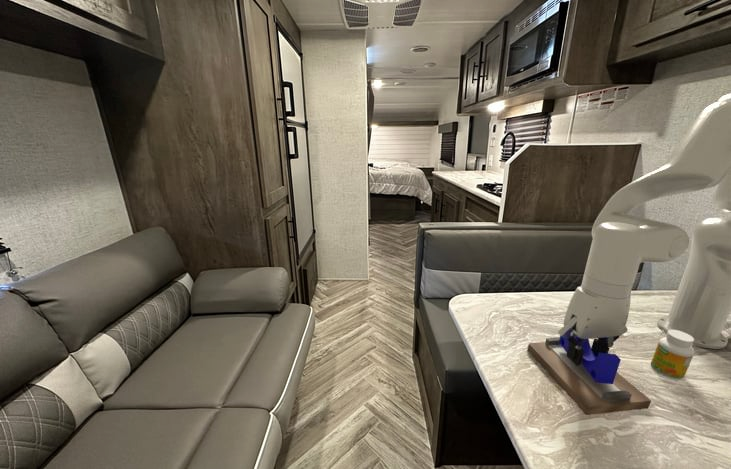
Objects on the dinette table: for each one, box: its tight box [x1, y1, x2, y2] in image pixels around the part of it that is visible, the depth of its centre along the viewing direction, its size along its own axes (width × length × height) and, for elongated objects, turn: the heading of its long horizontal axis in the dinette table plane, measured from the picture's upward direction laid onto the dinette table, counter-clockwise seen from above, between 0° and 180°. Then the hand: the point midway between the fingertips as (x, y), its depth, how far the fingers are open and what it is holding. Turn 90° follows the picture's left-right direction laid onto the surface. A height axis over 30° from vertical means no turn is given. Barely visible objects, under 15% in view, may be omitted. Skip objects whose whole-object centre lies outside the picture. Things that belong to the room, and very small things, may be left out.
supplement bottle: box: [650, 330, 695, 381], centre depth 64 cm, size 5×5×10 cm
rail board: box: [527, 336, 652, 416], centre depth 64 cm, size 13×18×4 cm
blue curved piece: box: [559, 334, 622, 384], centre depth 62 cm, size 12×4×6 cm, turn 172°
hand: (585, 358), depth 63 cm, fingers closed on blue curved piece, 4 cm apart
